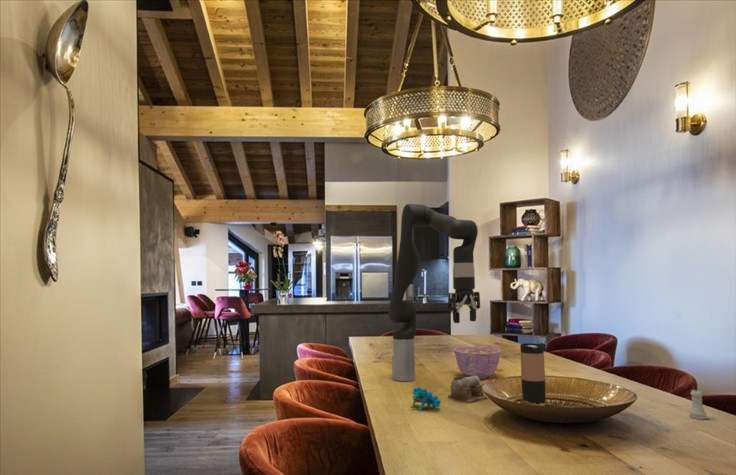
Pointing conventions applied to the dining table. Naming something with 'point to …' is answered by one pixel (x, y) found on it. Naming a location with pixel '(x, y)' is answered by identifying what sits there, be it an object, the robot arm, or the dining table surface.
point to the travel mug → (533, 372)
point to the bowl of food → (477, 360)
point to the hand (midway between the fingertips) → (464, 322)
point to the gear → (424, 398)
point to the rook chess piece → (697, 406)
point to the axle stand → (466, 389)
